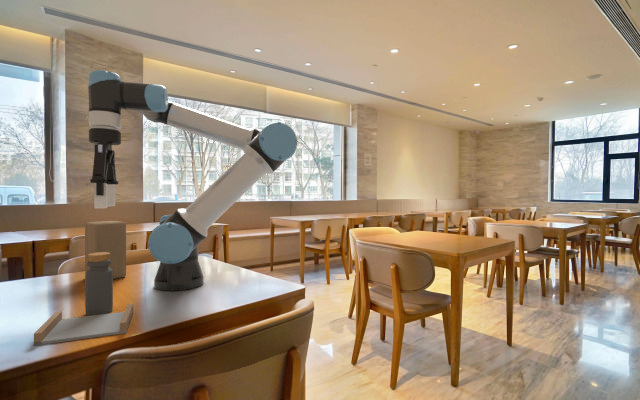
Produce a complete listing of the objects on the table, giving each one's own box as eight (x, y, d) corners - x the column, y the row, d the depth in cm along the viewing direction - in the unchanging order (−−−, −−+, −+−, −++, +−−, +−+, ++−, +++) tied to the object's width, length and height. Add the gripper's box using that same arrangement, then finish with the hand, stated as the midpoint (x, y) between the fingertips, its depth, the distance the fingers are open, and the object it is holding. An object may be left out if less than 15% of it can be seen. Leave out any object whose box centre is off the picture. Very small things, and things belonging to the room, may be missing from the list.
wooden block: (114, 273, 126) (114, 220, 126) (127, 277, 120) (127, 221, 120) (84, 278, 118) (83, 222, 117) (96, 283, 112) (95, 223, 112)
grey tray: (133, 313, 85) (133, 303, 85) (126, 333, 73) (126, 322, 73) (55, 322, 78) (55, 312, 78) (33, 345, 66) (33, 333, 66)
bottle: (82, 317, 81) (82, 256, 81) (88, 309, 87) (88, 252, 86) (110, 314, 84) (110, 254, 83) (114, 307, 89) (114, 251, 89)
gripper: (98, 135, 102) (99, 205, 103) (76, 119, 80) (77, 209, 80) (126, 137, 105) (127, 205, 106) (113, 122, 83) (113, 209, 83)
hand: (105, 207), depth 93 cm, fingers open, 12 cm apart
